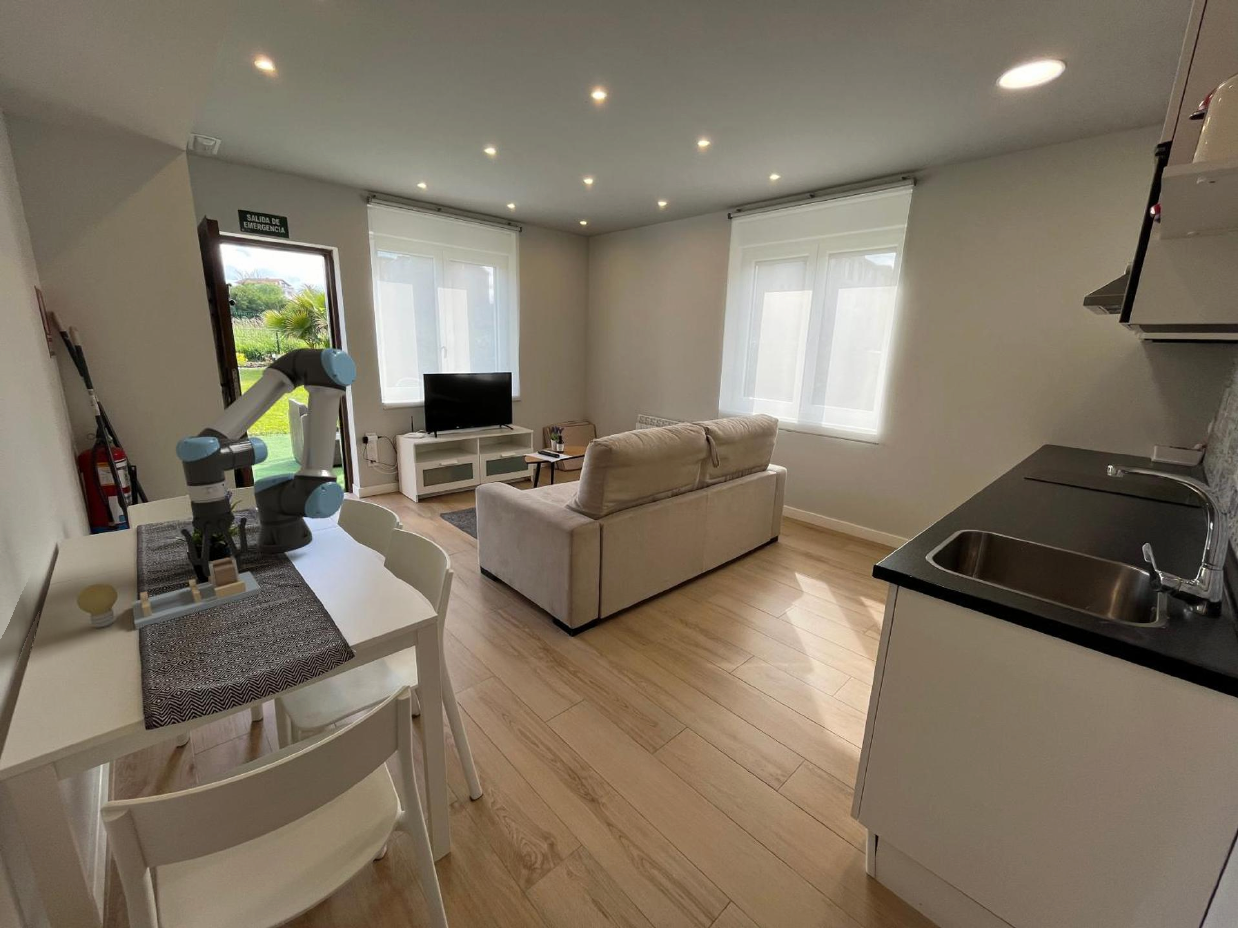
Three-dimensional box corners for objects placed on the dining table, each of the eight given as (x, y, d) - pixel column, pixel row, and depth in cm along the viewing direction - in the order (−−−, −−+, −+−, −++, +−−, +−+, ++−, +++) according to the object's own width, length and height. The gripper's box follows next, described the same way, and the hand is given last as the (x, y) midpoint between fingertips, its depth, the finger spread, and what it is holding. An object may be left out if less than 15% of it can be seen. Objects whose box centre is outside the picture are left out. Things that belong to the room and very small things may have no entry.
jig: (133, 607, 123) (129, 592, 122) (250, 576, 139) (248, 563, 138) (136, 629, 113) (132, 613, 112) (261, 592, 130) (258, 579, 129)
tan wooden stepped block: (214, 582, 131) (210, 561, 130) (232, 577, 134) (229, 557, 132) (219, 592, 125) (214, 570, 124) (238, 587, 128) (234, 566, 127)
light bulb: (85, 635, 111) (73, 595, 108) (84, 625, 115) (73, 586, 112) (124, 624, 115) (114, 585, 113) (122, 614, 119) (113, 576, 117)
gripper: (165, 509, 116) (185, 599, 121) (253, 494, 128) (267, 577, 133) (162, 502, 121) (181, 589, 126) (247, 489, 133) (261, 569, 138)
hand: (225, 583), depth 130 cm, fingers closed on tan wooden stepped block, 4 cm apart
